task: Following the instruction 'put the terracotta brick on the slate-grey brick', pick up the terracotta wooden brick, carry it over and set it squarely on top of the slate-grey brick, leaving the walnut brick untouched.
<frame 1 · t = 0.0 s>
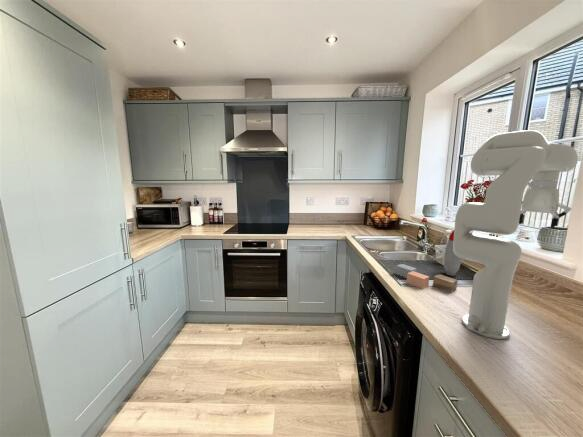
hand: (536, 225, 100), 31 cm above the table, fingers open, 9 cm apart
slate-grey brick: (405, 276, 124), on the table
walnut brick: (444, 288, 110), on the table
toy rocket: (450, 274, 126), on the table
terracotta brick: (417, 284, 114), on the table
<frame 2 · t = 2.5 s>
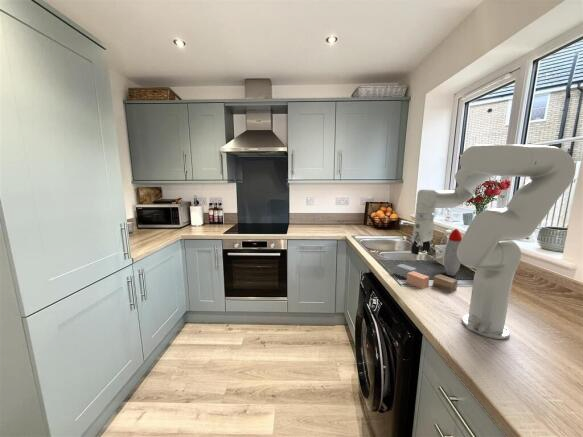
hand: (420, 252, 111), 16 cm above the table, fingers open, 9 cm apart
nothing on the table moved.
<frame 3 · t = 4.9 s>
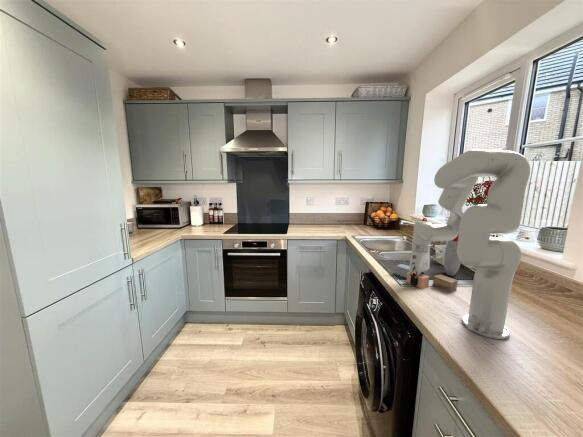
hand: (417, 283, 114), 1 cm above the table, fingers closed on terracotta brick, 5 cm apart
terracotta brick: (417, 284, 114), on the table, touching gripper
everything else where it was.
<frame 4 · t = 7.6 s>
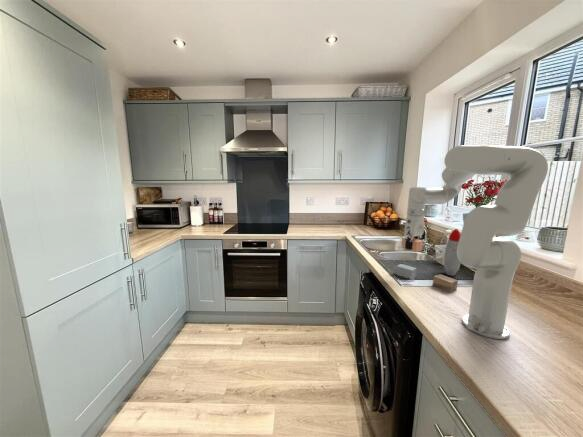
hand: (411, 247, 118), 16 cm above the table, fingers closed on terracotta brick, 5 cm apart
terracotta brick: (411, 248, 118), point 16 cm above the table, touching gripper
everything else where it was.
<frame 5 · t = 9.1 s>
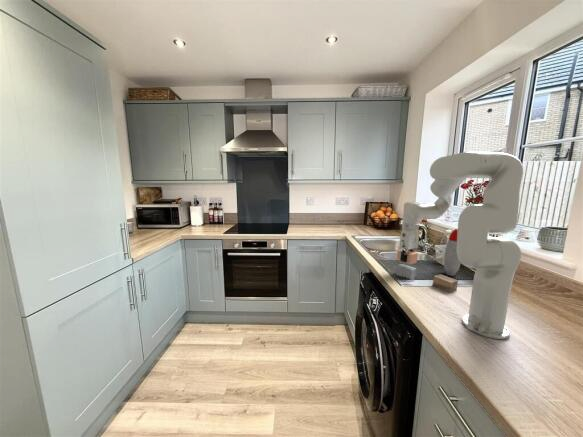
hand: (406, 260, 122), 9 cm above the table, fingers closed on terracotta brick, 5 cm apart
terracotta brick: (406, 261, 123), point 8 cm above the table, touching gripper
everything else where it was.
when the fingers open (7 cm above the table, at t = 10.2 s): terracotta brick drops 1 cm, resting on slate-grey brick.
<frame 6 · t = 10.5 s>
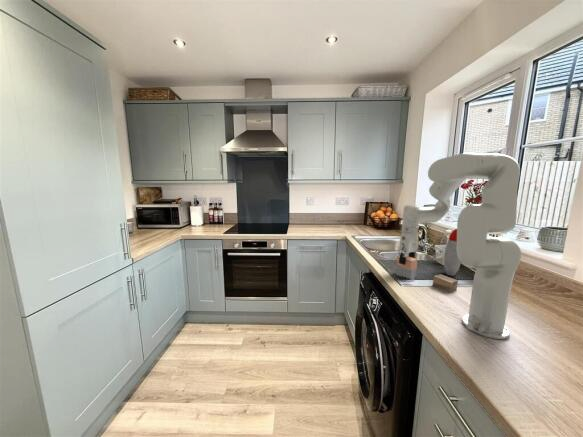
hand: (406, 262, 122), 7 cm above the table, fingers open, 7 cm apart
slate-grey brick: (405, 275, 124), on the table, touching terracotta brick
terracotta brick: (406, 266, 123), point 5 cm above the table, touching slate-grey brick
everything else where it was.
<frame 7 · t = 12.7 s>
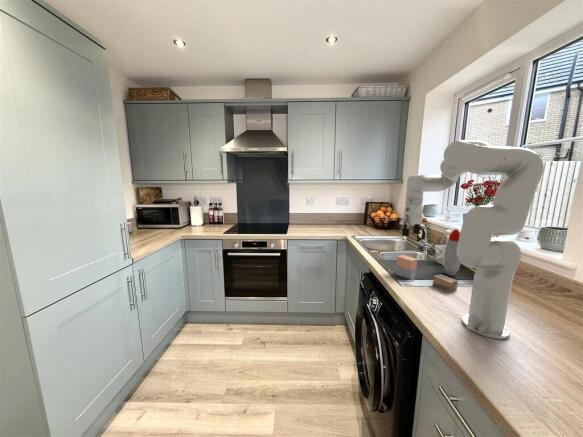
hand: (410, 234, 119), 22 cm above the table, fingers open, 9 cm apart
slate-grey brick: (405, 275, 124), on the table
terracotta brick: (406, 266, 123), point 5 cm above the table
everything else where it was.
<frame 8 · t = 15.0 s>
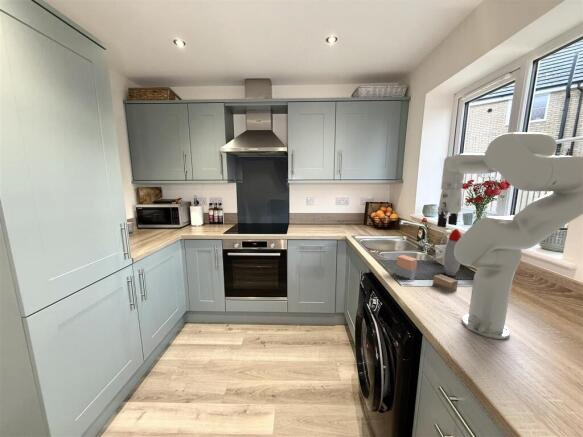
hand: (446, 225, 102), 30 cm above the table, fingers open, 9 cm apart
slate-grey brick: (405, 275, 124), on the table, touching terracotta brick
terracotta brick: (406, 266, 123), point 5 cm above the table, touching slate-grey brick
everything else where it was.
at the end: terracotta brick 0.0 cm off-centre on the slate-grey brick, point 5.0 cm above the slate-grey brick's base; walnut brick moved 0.2 cm from its start; slate-grey brick moved 0.1 cm from its start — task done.
